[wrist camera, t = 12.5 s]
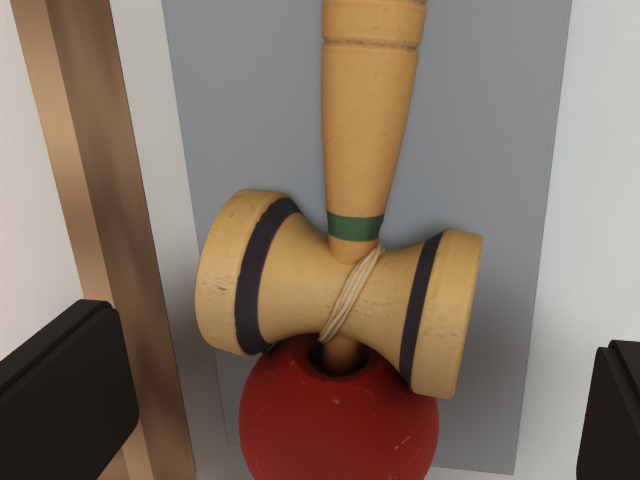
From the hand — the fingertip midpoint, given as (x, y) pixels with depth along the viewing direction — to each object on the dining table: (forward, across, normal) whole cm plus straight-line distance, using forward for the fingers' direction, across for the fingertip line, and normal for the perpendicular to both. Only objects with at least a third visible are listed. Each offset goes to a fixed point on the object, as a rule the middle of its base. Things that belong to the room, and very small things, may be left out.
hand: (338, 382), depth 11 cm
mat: (+8, +1, -1) cm, 8 cm away
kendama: (+8, +1, -1) cm, 8 cm away
